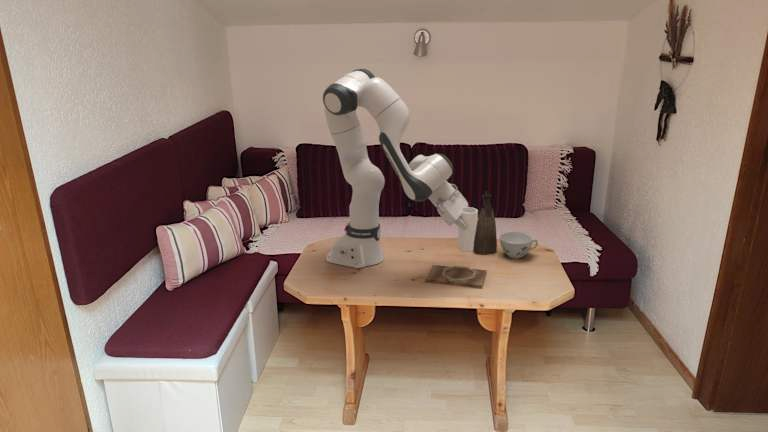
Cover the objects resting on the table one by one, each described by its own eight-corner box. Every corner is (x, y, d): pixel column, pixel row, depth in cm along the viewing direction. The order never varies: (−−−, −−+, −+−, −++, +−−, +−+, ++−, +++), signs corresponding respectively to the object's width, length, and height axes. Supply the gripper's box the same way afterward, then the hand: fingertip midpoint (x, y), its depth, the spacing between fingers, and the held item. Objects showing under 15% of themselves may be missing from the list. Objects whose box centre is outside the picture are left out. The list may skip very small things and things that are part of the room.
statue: (483, 246, 223) (487, 188, 214) (498, 251, 218) (504, 192, 209) (470, 252, 217) (474, 193, 208) (486, 258, 212) (491, 197, 203)
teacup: (503, 262, 207) (504, 243, 204) (495, 250, 219) (496, 231, 216) (542, 261, 207) (543, 241, 205) (532, 249, 219) (533, 230, 217)
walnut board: (424, 282, 192) (424, 276, 191) (432, 267, 204) (432, 262, 203) (481, 288, 186) (482, 283, 186) (486, 273, 198) (486, 268, 197)
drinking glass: (475, 254, 190) (478, 213, 185) (456, 253, 190) (458, 212, 185) (474, 246, 196) (477, 207, 191) (455, 245, 197) (458, 206, 192)
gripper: (441, 197, 179) (469, 229, 179) (455, 183, 198) (480, 212, 197) (428, 208, 182) (455, 240, 182) (443, 193, 200) (467, 222, 200)
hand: (468, 225), depth 190 cm, fingers closed on drinking glass, 7 cm apart
